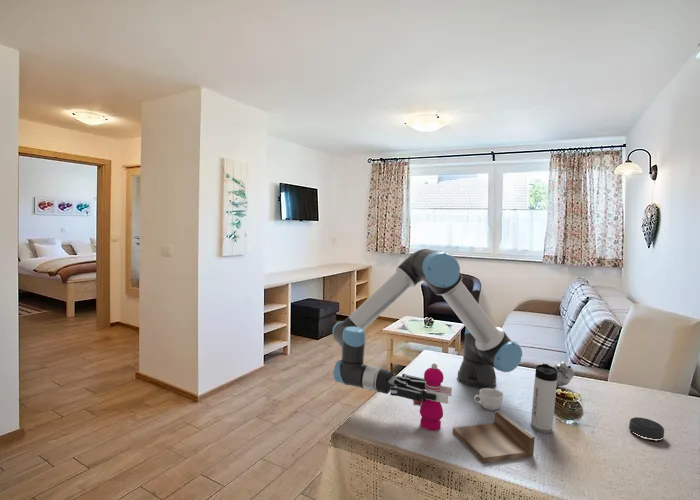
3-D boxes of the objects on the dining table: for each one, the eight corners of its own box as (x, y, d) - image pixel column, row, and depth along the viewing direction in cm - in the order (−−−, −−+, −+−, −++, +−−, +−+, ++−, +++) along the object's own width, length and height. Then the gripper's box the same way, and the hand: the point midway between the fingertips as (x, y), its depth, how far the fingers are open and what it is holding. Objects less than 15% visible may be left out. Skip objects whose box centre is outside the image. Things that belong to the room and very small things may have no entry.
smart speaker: (646, 443, 123) (648, 431, 123) (621, 428, 132) (623, 417, 132) (670, 442, 125) (672, 429, 125) (644, 427, 134) (645, 415, 134)
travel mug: (550, 425, 132) (556, 365, 130) (553, 435, 126) (559, 372, 124) (529, 421, 134) (534, 362, 132) (531, 430, 128) (537, 368, 126)
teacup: (495, 402, 147) (497, 388, 147) (505, 412, 139) (507, 397, 139) (469, 402, 146) (470, 387, 146) (477, 412, 138) (478, 397, 138)
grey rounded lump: (575, 386, 165) (572, 356, 165) (576, 394, 156) (572, 363, 156) (548, 385, 169) (544, 356, 170) (547, 392, 161) (543, 362, 161)
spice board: (497, 427, 129) (499, 410, 128) (533, 456, 114) (534, 437, 113) (452, 432, 124) (453, 414, 124) (483, 463, 109) (484, 443, 109)
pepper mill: (416, 419, 131) (420, 359, 130) (438, 419, 132) (442, 359, 130) (422, 431, 124) (426, 367, 122) (445, 431, 125) (449, 368, 123)
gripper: (387, 381, 143) (454, 395, 134) (367, 401, 126) (442, 420, 117) (388, 360, 142) (455, 373, 133) (369, 378, 126) (444, 394, 116)
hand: (449, 395), depth 125 cm, fingers open, 5 cm apart
